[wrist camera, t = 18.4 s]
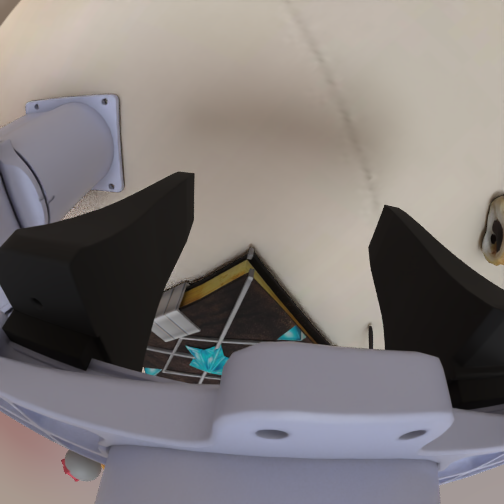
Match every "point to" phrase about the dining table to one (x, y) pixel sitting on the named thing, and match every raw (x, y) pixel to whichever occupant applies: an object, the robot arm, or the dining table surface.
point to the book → (222, 322)
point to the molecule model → (81, 467)
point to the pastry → (495, 233)
